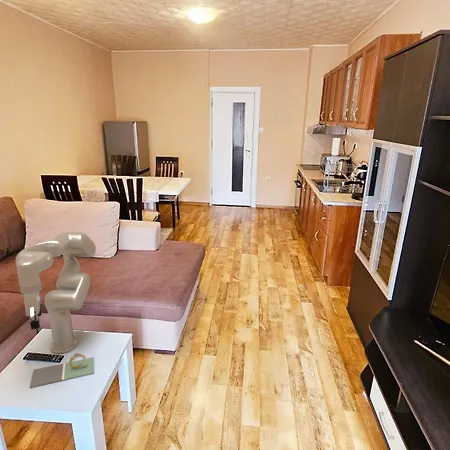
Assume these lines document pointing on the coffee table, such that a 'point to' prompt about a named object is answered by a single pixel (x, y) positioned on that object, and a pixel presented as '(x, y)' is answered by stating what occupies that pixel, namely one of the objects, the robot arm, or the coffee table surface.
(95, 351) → the coffee table surface
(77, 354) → the ring
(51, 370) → the board
